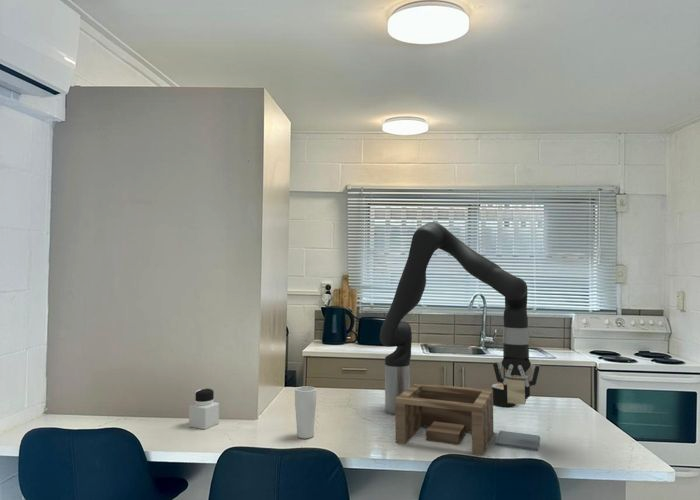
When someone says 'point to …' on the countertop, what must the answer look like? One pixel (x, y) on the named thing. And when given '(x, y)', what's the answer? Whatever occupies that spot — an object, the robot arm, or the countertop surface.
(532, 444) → the grey mat
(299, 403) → the drinking glass
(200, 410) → the medicine bottle
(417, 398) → the frame
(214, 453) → the countertop surface
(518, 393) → the maple block
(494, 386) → the sushi
